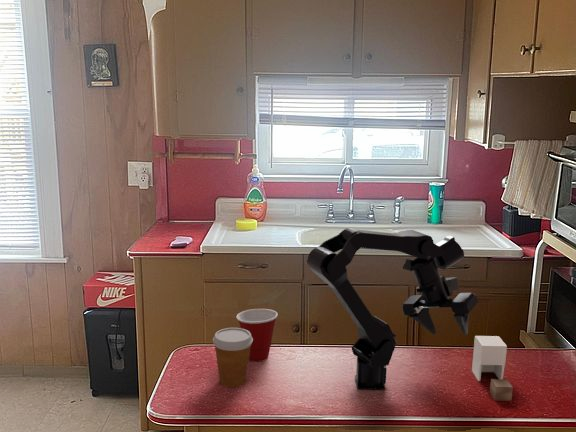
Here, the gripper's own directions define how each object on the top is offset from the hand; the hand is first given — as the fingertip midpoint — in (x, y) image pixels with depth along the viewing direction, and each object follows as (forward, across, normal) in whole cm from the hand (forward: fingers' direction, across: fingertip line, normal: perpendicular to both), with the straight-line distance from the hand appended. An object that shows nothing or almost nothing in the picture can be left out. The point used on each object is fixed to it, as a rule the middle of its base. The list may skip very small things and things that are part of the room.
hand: (450, 333), depth 154 cm
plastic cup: (-10, +41, +27) cm, 50 cm away
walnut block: (+14, -11, +6) cm, 18 cm away
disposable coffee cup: (-12, +35, +41) cm, 55 cm away
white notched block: (+14, -4, -2) cm, 14 cm away
